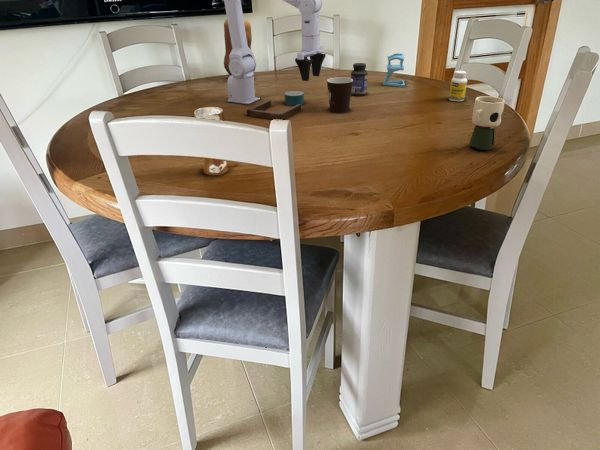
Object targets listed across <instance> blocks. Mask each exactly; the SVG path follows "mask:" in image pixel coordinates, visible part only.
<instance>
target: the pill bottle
mask: <svg viewBox="0 0 600 450" xmlns="http://www.w3.org/2000/svg"><path fill="white" fill-rule="evenodd" d="M352 68H353V69H352V70H351V72H350V79H353V84H352V91H351V96H354V97H363V96H366V95H367V92H368V87H367V86H368V71H367V70H366V69H367V63H365V62H355V63H353V65H352Z"/></svg>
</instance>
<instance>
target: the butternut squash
mask: <svg viewBox="0 0 600 450" xmlns="http://www.w3.org/2000/svg"><path fill="white" fill-rule="evenodd" d="M243 19H244V25H245V32H246V38H247V45H248V47H249V48H250V49H251V51H252V39H253V38H252V36H253V35H252V26H251V23H250V21H249V19H246V18H245V17H243ZM223 33H224V35H223V38H224V50H225V53H224V59H223V68H224V69H225V71H226V73H227V74H228V75H229V77H230V76H231V75H232V74H231V73H230V70H229V63H230V58H229V55H230V53H231V51H232V43H231V37H230V32H229V26H228V20H227V18H226V19H225V21H224V23H223ZM252 54H253V57H254V59H255V60H256V58H255V55H254V53H253V51H252ZM255 71H256V69H255V70H254V72H255Z"/></svg>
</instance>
